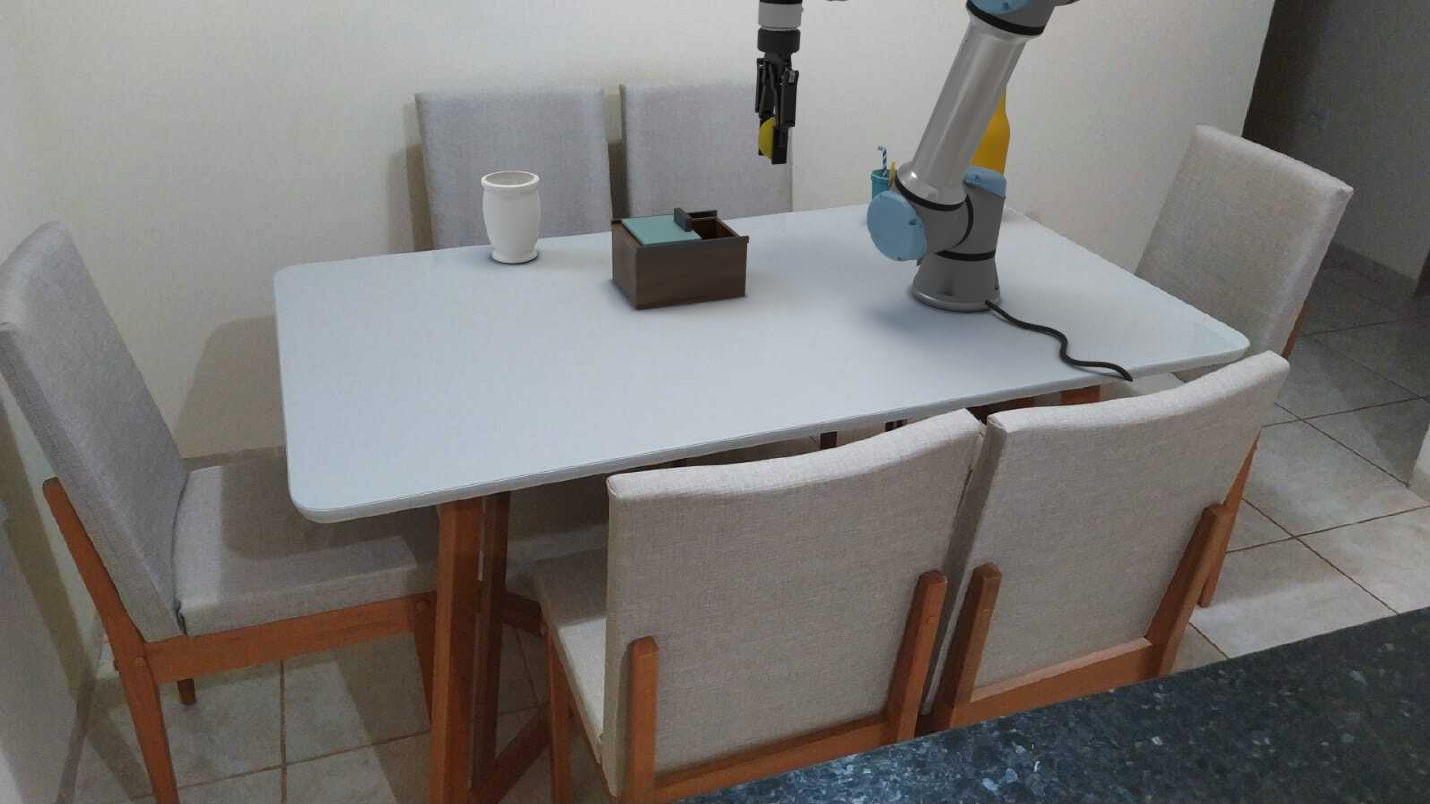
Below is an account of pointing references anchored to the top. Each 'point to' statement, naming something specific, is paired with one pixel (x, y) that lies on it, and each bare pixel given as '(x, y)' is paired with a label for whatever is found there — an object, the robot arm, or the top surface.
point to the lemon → (766, 137)
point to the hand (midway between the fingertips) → (772, 159)
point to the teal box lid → (662, 228)
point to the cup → (882, 176)
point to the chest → (680, 264)
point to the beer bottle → (995, 141)
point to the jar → (512, 214)
